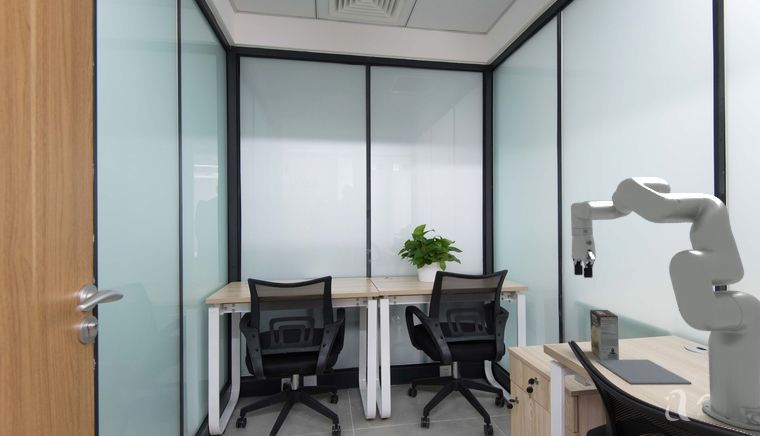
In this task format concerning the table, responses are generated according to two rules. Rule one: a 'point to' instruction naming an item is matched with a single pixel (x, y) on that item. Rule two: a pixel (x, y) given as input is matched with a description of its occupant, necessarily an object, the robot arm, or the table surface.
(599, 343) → the coffee box
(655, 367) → the rubber mat
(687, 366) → the table surface
